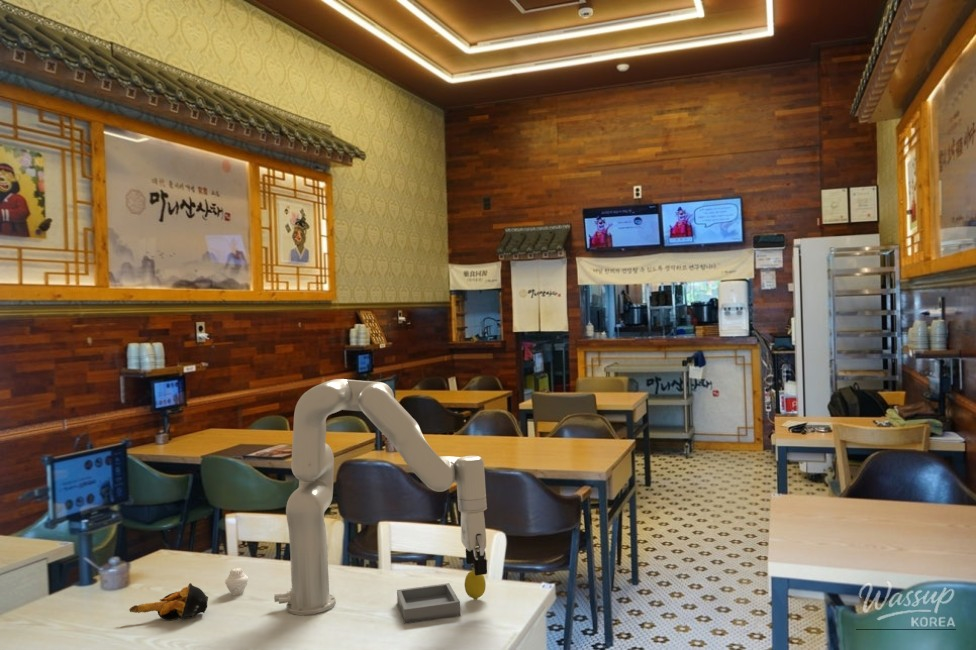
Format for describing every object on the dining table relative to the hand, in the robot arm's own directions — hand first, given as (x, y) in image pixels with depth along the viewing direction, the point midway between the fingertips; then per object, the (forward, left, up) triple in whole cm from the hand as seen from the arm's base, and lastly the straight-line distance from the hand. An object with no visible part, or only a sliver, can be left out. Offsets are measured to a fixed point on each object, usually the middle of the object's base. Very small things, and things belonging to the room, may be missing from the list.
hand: (476, 568), depth 194 cm
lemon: (-1, 0, -8) cm, 8 cm away
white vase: (-63, +29, -8) cm, 69 cm away
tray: (-14, -2, -8) cm, 16 cm away
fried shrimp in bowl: (-78, +16, -9) cm, 80 cm away
